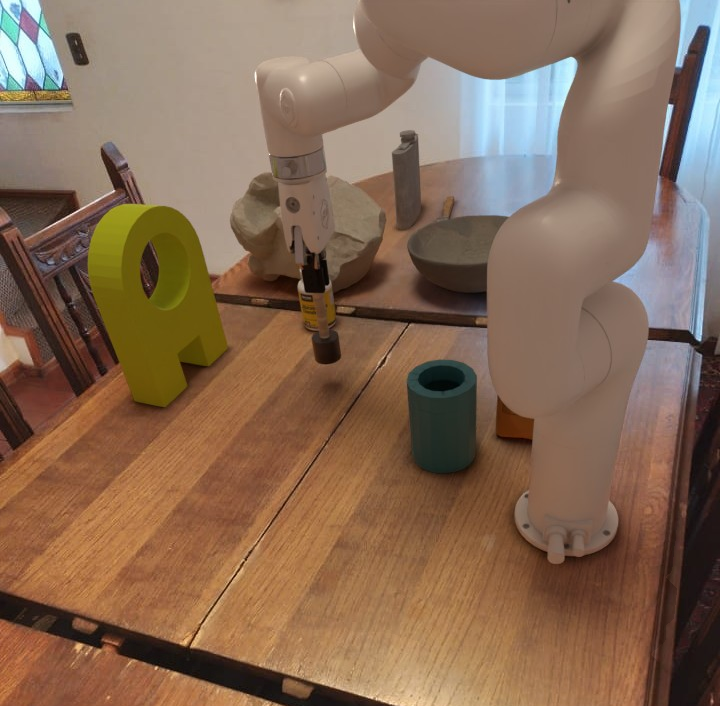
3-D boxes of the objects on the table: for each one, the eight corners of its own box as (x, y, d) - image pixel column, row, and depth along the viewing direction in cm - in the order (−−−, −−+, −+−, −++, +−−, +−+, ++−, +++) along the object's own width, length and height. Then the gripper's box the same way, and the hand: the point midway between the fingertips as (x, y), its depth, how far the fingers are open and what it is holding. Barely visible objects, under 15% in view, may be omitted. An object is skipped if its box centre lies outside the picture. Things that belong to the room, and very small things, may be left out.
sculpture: (346, 285, 167) (248, 200, 159) (414, 210, 147) (307, 109, 139) (306, 347, 150) (195, 255, 142) (378, 272, 130) (253, 161, 122)
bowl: (398, 312, 133) (395, 263, 126) (421, 255, 152) (419, 210, 145) (536, 315, 126) (539, 264, 120) (541, 255, 145) (545, 208, 139)
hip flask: (410, 205, 176) (405, 122, 163) (425, 205, 175) (422, 121, 162) (395, 230, 164) (389, 142, 152) (411, 230, 163) (407, 141, 150)
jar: (472, 475, 94) (472, 399, 86) (407, 471, 97) (401, 396, 88) (478, 434, 101) (479, 360, 93) (417, 431, 103) (413, 358, 95)
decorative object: (165, 407, 116) (103, 236, 96) (134, 401, 118) (68, 233, 99) (228, 348, 129) (185, 187, 109) (199, 343, 131) (153, 185, 112)
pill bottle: (297, 329, 132) (287, 273, 124) (314, 313, 136) (305, 258, 128) (326, 334, 129) (317, 277, 122) (342, 318, 133) (335, 262, 126)
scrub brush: (337, 365, 110) (322, 259, 98) (311, 364, 111) (293, 259, 99) (344, 350, 113) (329, 246, 101) (318, 350, 114) (302, 246, 102)
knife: (442, 196, 175) (454, 196, 174) (443, 200, 175) (454, 200, 175) (425, 248, 153) (439, 247, 152) (426, 252, 153) (439, 252, 153)
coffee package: (572, 402, 105) (589, 268, 90) (553, 450, 96) (568, 311, 82) (509, 391, 108) (515, 261, 94) (486, 437, 100) (489, 302, 86)
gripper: (308, 182, 85) (328, 314, 97) (338, 144, 97) (352, 266, 109) (253, 184, 87) (279, 313, 99) (289, 146, 98) (308, 266, 110)
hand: (317, 287), depth 104 cm, fingers closed on scrub brush
